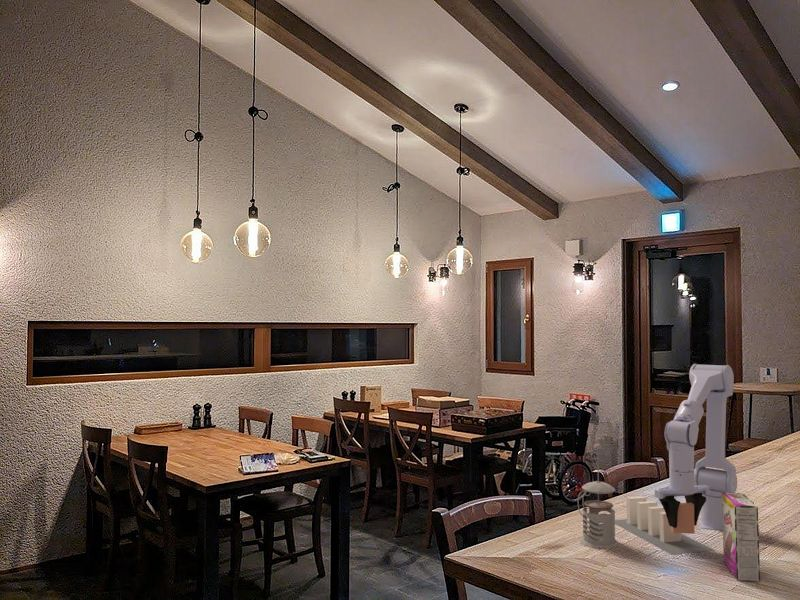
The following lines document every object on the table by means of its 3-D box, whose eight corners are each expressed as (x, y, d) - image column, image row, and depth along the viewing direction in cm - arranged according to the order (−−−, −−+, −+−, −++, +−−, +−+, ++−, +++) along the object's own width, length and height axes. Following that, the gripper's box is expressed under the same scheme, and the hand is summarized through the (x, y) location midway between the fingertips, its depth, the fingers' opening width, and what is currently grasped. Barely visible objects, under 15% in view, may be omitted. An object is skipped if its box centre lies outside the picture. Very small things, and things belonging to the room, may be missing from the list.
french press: (598, 551, 164) (597, 448, 164) (566, 538, 174) (564, 441, 175) (628, 545, 168) (626, 444, 169) (594, 532, 178) (593, 437, 179)
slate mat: (609, 521, 187) (609, 520, 187) (647, 518, 190) (647, 517, 190) (671, 556, 160) (671, 554, 160) (715, 552, 163) (715, 550, 163)
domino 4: (659, 540, 170) (659, 512, 171) (677, 538, 171) (676, 511, 172) (663, 542, 169) (663, 514, 169) (681, 540, 170) (680, 512, 170)
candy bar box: (721, 562, 156) (720, 491, 156) (745, 564, 155) (743, 492, 155) (735, 581, 145) (734, 504, 145) (761, 583, 144) (759, 505, 144)
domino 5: (671, 530, 166) (670, 502, 167) (692, 531, 166) (692, 502, 166) (673, 532, 165) (672, 504, 165) (694, 533, 164) (694, 504, 164)
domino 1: (627, 522, 185) (626, 497, 185) (643, 521, 186) (642, 496, 186) (630, 524, 183) (629, 498, 184) (646, 523, 185) (646, 497, 185)
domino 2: (637, 528, 180) (637, 502, 180) (653, 526, 181) (653, 500, 181) (640, 530, 179) (640, 503, 179) (657, 528, 180) (657, 502, 180)
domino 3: (648, 534, 175) (647, 507, 175) (665, 532, 176) (664, 505, 177) (652, 536, 174) (651, 508, 174) (669, 534, 175) (668, 507, 175)
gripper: (694, 464, 172) (695, 518, 171) (646, 468, 168) (647, 523, 167) (715, 470, 165) (716, 526, 165) (665, 474, 161) (666, 531, 160)
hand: (682, 525), depth 165 cm, fingers closed on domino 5, 5 cm apart
